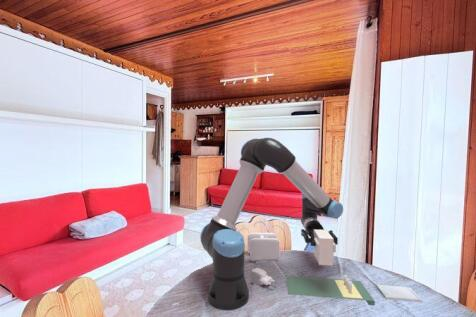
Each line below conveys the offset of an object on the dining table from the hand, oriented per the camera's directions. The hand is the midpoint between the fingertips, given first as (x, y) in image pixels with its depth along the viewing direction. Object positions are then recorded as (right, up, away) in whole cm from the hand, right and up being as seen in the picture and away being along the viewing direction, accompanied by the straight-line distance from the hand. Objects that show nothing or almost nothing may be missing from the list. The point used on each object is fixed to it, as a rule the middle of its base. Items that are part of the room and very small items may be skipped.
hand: (326, 248), depth 87 cm
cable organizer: (-20, -18, +33) cm, 43 cm away
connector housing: (+1, -6, +5) cm, 8 cm away
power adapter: (-22, -18, +7) cm, 30 cm away
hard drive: (+28, -19, +3) cm, 34 cm away
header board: (+1, -18, +5) cm, 19 cm away
